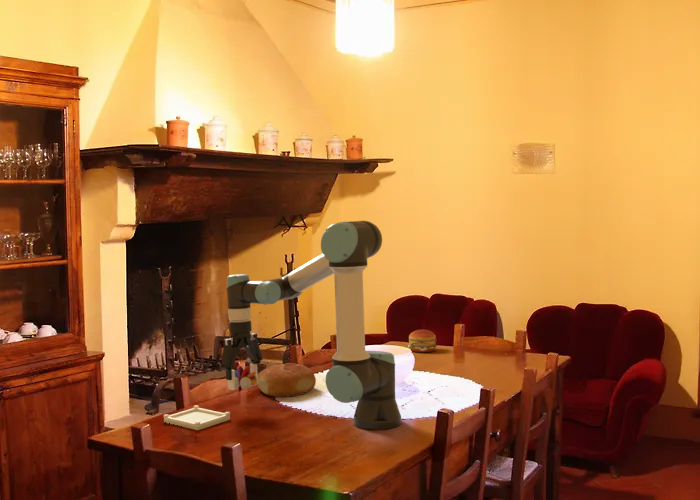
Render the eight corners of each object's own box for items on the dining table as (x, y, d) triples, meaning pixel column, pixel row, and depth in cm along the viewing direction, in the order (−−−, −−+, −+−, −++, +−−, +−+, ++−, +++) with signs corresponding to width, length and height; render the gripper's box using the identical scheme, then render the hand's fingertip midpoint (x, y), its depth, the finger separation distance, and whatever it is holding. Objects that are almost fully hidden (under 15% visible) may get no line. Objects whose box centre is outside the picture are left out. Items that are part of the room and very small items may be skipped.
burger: (406, 353, 358) (406, 332, 357) (409, 348, 371) (409, 327, 371) (436, 353, 356) (435, 332, 355) (437, 348, 369) (437, 327, 369)
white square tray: (231, 419, 255) (230, 412, 255) (197, 430, 244) (197, 423, 244) (196, 412, 265) (196, 405, 265) (162, 422, 254) (162, 415, 253)
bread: (243, 396, 286) (242, 369, 285) (273, 382, 308) (272, 357, 307) (299, 401, 277) (298, 373, 277) (326, 386, 299) (325, 360, 298)
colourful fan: (252, 390, 257) (251, 368, 257) (224, 390, 259) (223, 368, 258) (260, 384, 265) (259, 363, 265) (233, 384, 267) (232, 363, 267)
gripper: (255, 315, 272) (258, 378, 273) (207, 324, 254) (210, 391, 255) (271, 316, 268) (274, 380, 269) (223, 325, 250) (226, 394, 251)
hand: (243, 385), depth 262 cm, fingers closed on colourful fan, 10 cm apart
